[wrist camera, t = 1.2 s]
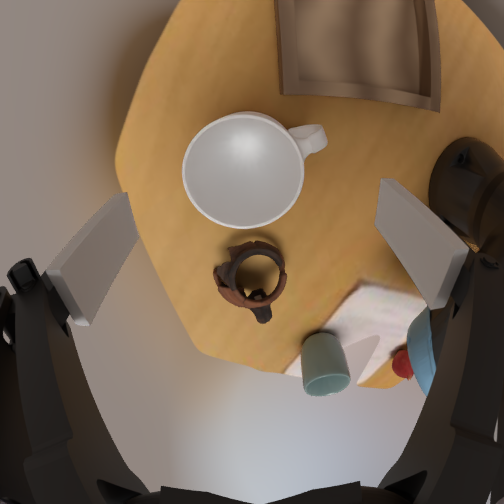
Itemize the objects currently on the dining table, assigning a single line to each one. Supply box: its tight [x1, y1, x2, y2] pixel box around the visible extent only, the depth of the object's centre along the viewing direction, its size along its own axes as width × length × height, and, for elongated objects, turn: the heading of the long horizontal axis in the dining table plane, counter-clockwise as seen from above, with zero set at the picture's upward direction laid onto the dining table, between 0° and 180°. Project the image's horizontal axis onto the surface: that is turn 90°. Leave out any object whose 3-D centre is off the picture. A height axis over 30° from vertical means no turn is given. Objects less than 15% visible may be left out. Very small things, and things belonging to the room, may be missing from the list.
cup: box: [301, 333, 351, 396], centre depth 43 cm, size 8×8×10 cm
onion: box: [392, 350, 414, 380], centre depth 48 cm, size 6×6×8 cm
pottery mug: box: [213, 241, 287, 324], centre depth 37 cm, size 12×10×8 cm
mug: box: [182, 111, 328, 229], centre depth 24 cm, size 12×9×12 cm
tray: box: [274, 0, 441, 113], centre depth 19 cm, size 18×18×4 cm
